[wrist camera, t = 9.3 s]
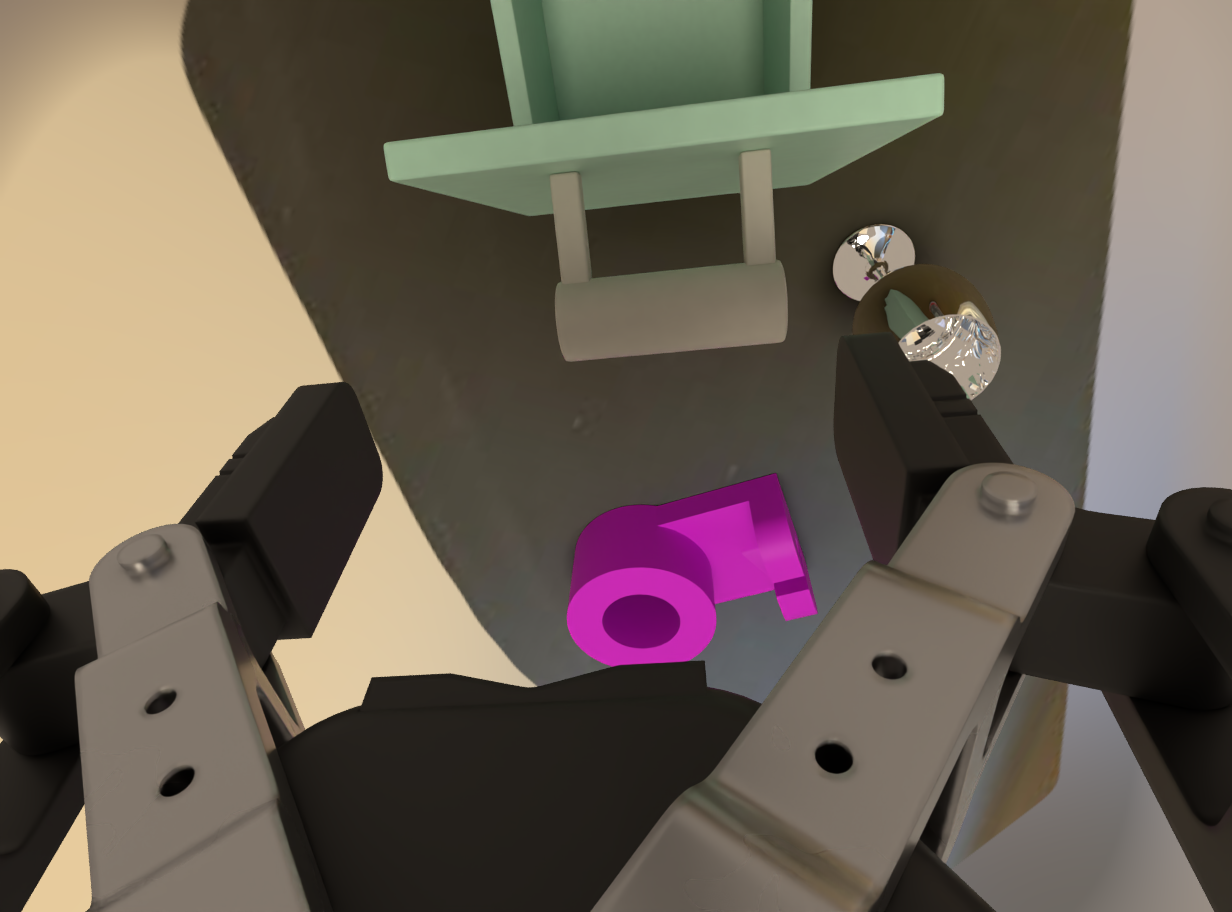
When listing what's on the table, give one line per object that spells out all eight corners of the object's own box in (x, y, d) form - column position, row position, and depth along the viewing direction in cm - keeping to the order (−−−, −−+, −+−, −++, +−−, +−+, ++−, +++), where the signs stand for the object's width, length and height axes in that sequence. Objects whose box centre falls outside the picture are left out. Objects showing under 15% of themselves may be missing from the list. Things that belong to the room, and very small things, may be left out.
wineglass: (944, 276, 41) (1035, 380, 31) (848, 330, 43) (905, 444, 33) (901, 189, 39) (985, 273, 29) (801, 251, 41) (849, 349, 31)
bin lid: (381, 142, 16) (422, 387, 17) (946, 71, 15) (942, 341, 16) (525, 196, 31) (541, 325, 32) (809, 163, 29) (814, 298, 31)
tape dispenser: (605, 617, 58) (600, 683, 53) (553, 526, 53) (542, 589, 48) (807, 567, 54) (823, 633, 49) (773, 464, 49) (787, 525, 44)
